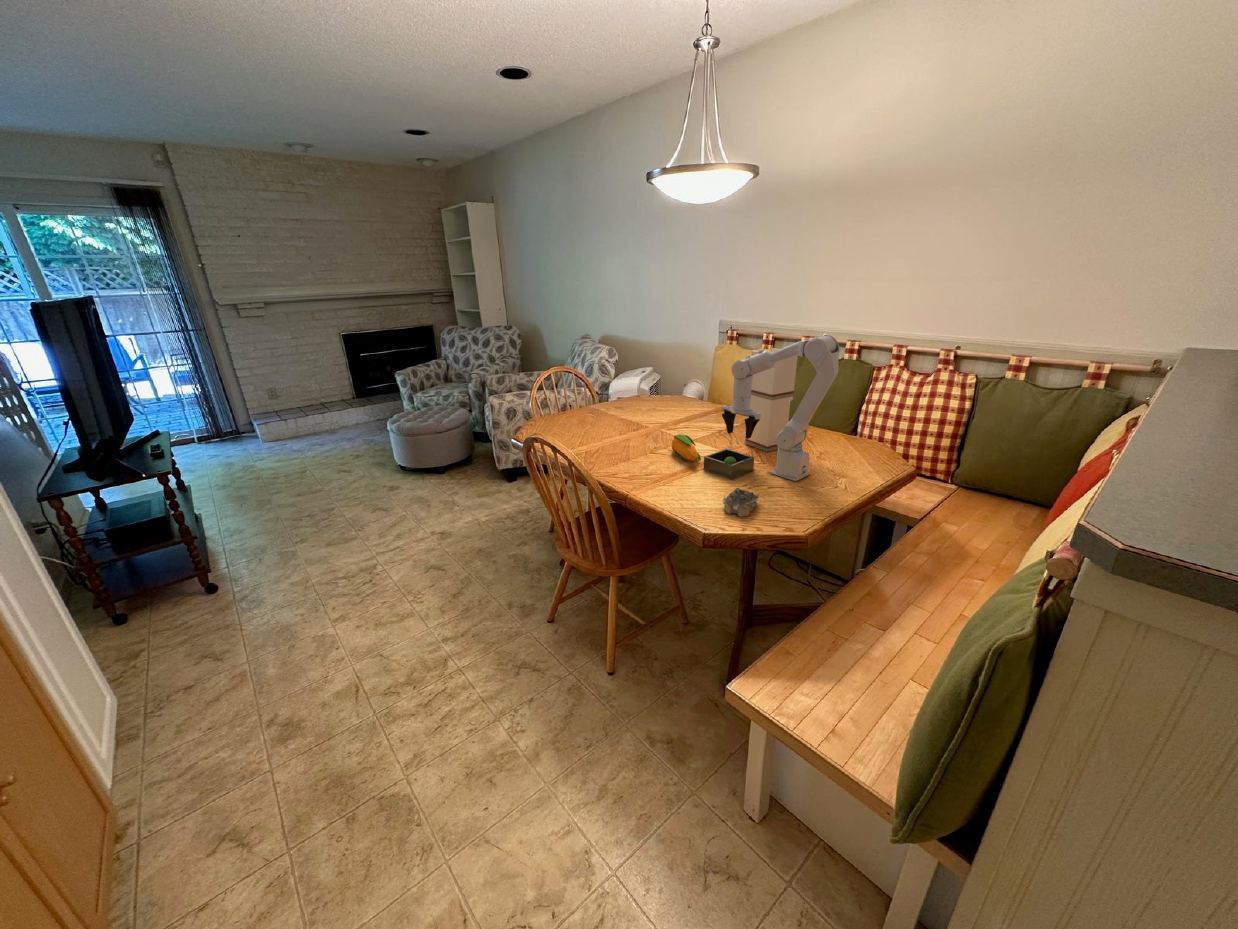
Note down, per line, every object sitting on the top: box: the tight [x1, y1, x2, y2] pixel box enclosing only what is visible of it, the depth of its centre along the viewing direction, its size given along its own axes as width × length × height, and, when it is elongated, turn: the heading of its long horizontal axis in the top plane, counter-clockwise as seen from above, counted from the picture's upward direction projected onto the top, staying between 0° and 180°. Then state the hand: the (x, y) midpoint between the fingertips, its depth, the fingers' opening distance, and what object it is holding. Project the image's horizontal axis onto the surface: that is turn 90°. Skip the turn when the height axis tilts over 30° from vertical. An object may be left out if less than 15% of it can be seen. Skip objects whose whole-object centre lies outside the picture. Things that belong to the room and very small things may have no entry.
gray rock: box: [722, 486, 760, 517], centre depth 132 cm, size 11×8×4 cm
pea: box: [724, 457, 736, 465], centre depth 158 cm, size 4×4×4 cm
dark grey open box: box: [703, 448, 755, 480], centre depth 158 cm, size 12×12×5 cm
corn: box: [671, 433, 702, 462], centre depth 169 cm, size 7×8×20 cm
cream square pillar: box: [744, 347, 799, 453], centre depth 175 cm, size 11×11×35 cm
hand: (739, 435), depth 163 cm, fingers open, 7 cm apart
